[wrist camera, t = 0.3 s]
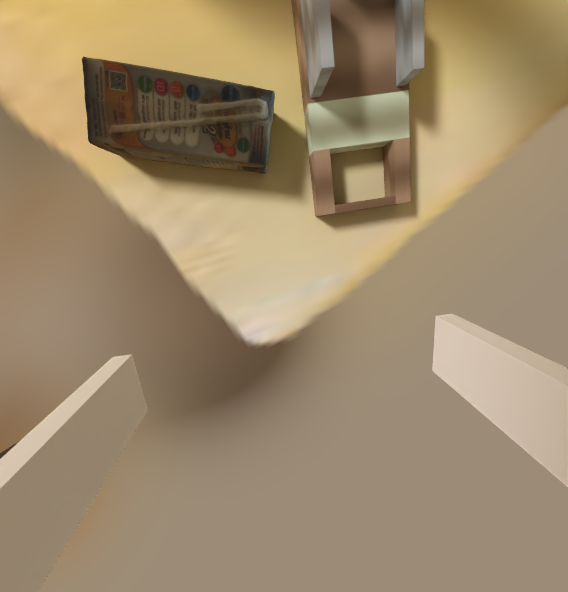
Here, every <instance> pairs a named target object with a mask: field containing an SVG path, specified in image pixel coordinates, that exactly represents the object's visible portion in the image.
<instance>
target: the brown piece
mask: <svg viewBox="0 0 568 592" xmlns="http://www.w3.org/2000/svg"><path fill="white" fill-rule="evenodd" d="M292 7H293V16H294V25H295V35H296V44H297V53H298V62H299V71H300V80H301V89H302V98H303V107H304V116H305V126H306V135H307V144H308V153H309V162H310V171H311V180H312V189H313V198H314V208H315V216H321V215H327V214H334V213H340V212H347V211H353V210H360V209H367V208H373V207H380V206H386V205H393V204H399V203H406V202H411V182H410V133H409V82H410V81H411V80H412V79H413V78H414V77H415V76H416V75H418V74H419V73H420V72H421V71H422V70H423V69H424V0H292ZM377 147H383V159H384V184H385V198H378V199H372V200H365V201H358V202H352V203H345V204H339V205H335V203H334V192H333V181H332V170H331V159H330V154H335V153H342V152H349V151H356V150H363V149H370V148H377Z"/></svg>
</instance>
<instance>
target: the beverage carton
mask: <svg viewBox="0 0 568 592" xmlns="http://www.w3.org/2000/svg"><path fill="white" fill-rule="evenodd" d="M82 63H83V73H84V88H85V103H86V111H87V128H88V140H89V142H90V143H91V144H93V145H95V146H97V147H99V148H102V149H105V150H107V151H110V152H112V153H114V154H117V155H123V156H128V157H134V158H141V159H148V160H156V161H163V162H172V163H179V164H187V165H194V166H202V167H209V168H219V169H229V170H239V171H252V172H258V173H266V171H267V167H268V156H269V146H270V136H271V127H272V123H273V113H274V99H275V94H274V91H271V90H265V89H260V88H256V87H253V86H245V85H241V84H236V83H231V82H225V81H220V80H215V79H209V78H204V77H198V76H193V75H188V74H183V73H177V72H172V71H166V70H161V69H155V68H149V67H143V66H138V65H132V64H126V63H120V62H113V61H107V60H102V59H93V58H87V57H83V58H82Z"/></svg>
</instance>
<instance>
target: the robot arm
mask: <svg viewBox="0 0 568 592" xmlns="http://www.w3.org/2000/svg"><path fill="white" fill-rule="evenodd" d="M433 372H434V373H436V374H437V375H438V376H439V377H440V378H442V379H443V380H444V381H445V382H446V383H447V384H449V385H450V386H451V387H452V388H453V389H454V390H456V391H457V392H458V393H459V394H460V395H461V396H463V397H464V398H465V399H466V400H467V401H468V402H469V403H471V404H472V405H473V406H474V407H475V408H476V409H478V410H479V411H480V412H481V413H482V414H483V415H485V416H486V417H487V418H488V419H489V420H491V422H493V423H494V424H495V425H496V426H497V427H498V428H500V429H501V430H502V431H503V432H504V433H505V434H507V435H508V436H509V437H510V438H511V439H513V440H514V441H515V442H516V443H517V444H518V445H519V446H521V447H522V448H523V449H524V450H525V451H526V452H528V453H529V454H530V455H531V456H532V457H533V458H535V459H536V460H537V461H538V462H539V463H540V464H542V465H543V466H544V467H545V468H546V469H547V470H548V471H550V472H551V473H552V474H553V475H554V476H556V477H557V478H558V479H559V480H560V481H561V482H562V483H564V484H565V485H566V486H567V487H568V368H566V367H564V366H562V365H560V364H558V363H555V362H553V361H551V360H549V359H547V358H545V357H543V356H541V355H539V354H536V353H534V352H532V351H530V350H528V349H526V348H524V347H522V346H519V345H517V344H515V343H513V342H511V341H509V340H507V339H505V338H503V337H501V336H498V335H496V334H494V333H492V332H490V331H488V330H486V329H484V328H482V327H479V326H477V325H475V324H473V323H471V322H469V321H467V320H465V319H462V318H460V317H458V316H456V315H454V314H447V315H439V316H436V322H435V339H434V355H433ZM147 411H148V409H147V406H146V402H145V399H144V395H143V392H142V388H141V385H140V381H139V378H138V374H137V371H136V367H135V364H134V360H133V357H132V355H124V356H116V357H112V358H111V359H110V360H109V361H108V362H107V363H106V364H105V365H103V366H102V367H101V368H100V369H99V370H98V371H97V372H96V373H95V374H94V375H92V376H91V377H90V378H89V379H88V380H87V381H86V382H85V383H84V384H83V385H81V387H79V388H78V389H77V390H76V391H75V392H74V393H73V394H71V396H69V397H68V398H67V399H66V400H65V401H64V402H63V403H61V404H60V405H59V406H58V407H57V408H56V409H55V410H54V411H53V412H52V413H50V414H49V415H48V416H47V417H46V418H45V419H44V420H43V421H42V422H41V423H39V424H38V425H37V426H36V427H35V428H34V429H33V430H32V431H31V432H29V433H28V434H27V435H26V436H25V437H24V438H23V439H22V440H20V441H19V442H17V443H16V444H14V445H13V446H11V447H9V448H8V449H6V450H5V451H3V452H2V453H0V592H38V591H39V590H40V588H41V586H42V585H43V583H44V582H45V580H46V578H47V577H48V575H49V573H50V572H51V570H52V568H53V567H54V565H55V563H56V562H57V560H58V558H59V557H60V555H61V553H62V552H63V550H64V548H65V547H66V545H67V543H68V542H69V540H70V538H71V537H72V535H73V533H74V532H75V530H76V529H77V527H78V525H79V524H80V522H81V520H82V519H83V517H84V515H85V514H86V512H87V510H88V509H89V507H90V505H91V504H92V501H93V500H94V499H95V497H96V495H97V494H98V492H99V490H100V488H101V487H102V485H103V484H104V482H105V480H106V479H107V477H108V475H109V474H110V472H111V470H112V469H113V467H114V466H115V464H116V462H117V460H118V459H119V457H120V455H121V454H122V452H123V451H124V449H125V447H126V446H127V444H128V442H129V441H130V439H131V437H132V436H133V434H134V432H135V431H136V429H137V427H138V426H139V424H140V422H141V421H142V419H143V417H144V416H145V414H146V412H147Z"/></svg>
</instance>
